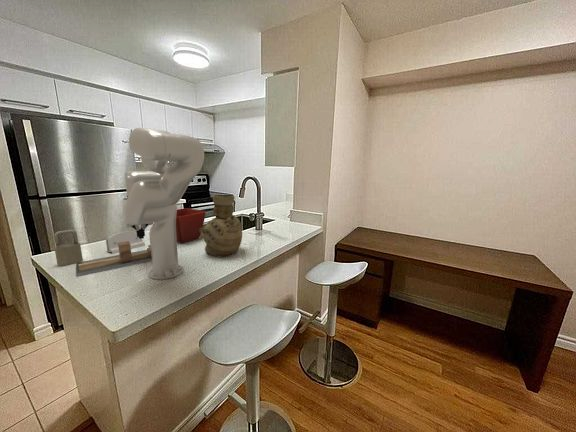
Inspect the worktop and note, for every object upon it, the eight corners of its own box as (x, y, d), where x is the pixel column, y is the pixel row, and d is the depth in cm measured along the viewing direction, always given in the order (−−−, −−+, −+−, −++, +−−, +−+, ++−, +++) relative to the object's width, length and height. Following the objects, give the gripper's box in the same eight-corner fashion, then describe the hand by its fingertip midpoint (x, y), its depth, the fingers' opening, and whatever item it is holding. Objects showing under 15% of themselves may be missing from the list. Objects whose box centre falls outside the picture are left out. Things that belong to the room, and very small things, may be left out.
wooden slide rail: (164, 257, 115) (164, 255, 114) (76, 276, 94) (76, 273, 94) (157, 249, 125) (157, 247, 125) (76, 265, 104) (76, 262, 104)
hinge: (112, 254, 118) (106, 235, 117) (107, 255, 120) (102, 236, 120) (146, 245, 132) (140, 227, 132) (141, 246, 134) (136, 229, 134)
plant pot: (179, 246, 131) (177, 216, 128) (159, 240, 141) (156, 212, 138) (207, 238, 147) (206, 211, 144) (187, 233, 157) (186, 207, 153)
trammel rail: (161, 254, 115) (160, 248, 114) (79, 271, 96) (78, 263, 95) (156, 249, 122) (156, 243, 121) (79, 264, 102) (77, 257, 101)
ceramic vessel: (198, 249, 126) (194, 193, 120) (237, 245, 135) (236, 192, 129) (202, 263, 110) (198, 198, 104) (246, 256, 119) (246, 196, 113)
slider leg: (132, 260, 107) (130, 243, 106) (121, 262, 105) (119, 244, 103) (128, 254, 114) (126, 238, 112) (118, 256, 111) (116, 240, 110)
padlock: (57, 264, 105) (50, 231, 102) (80, 259, 111) (75, 227, 108) (59, 267, 102) (53, 233, 99) (83, 261, 109) (78, 229, 106)
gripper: (118, 201, 99) (123, 243, 103) (158, 198, 109) (161, 237, 113) (116, 198, 105) (120, 238, 109) (154, 196, 114) (157, 233, 118)
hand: (141, 237), depth 111 cm, fingers closed
